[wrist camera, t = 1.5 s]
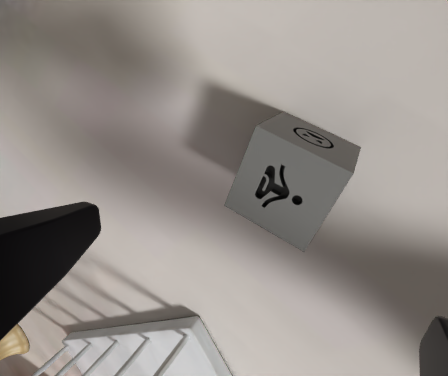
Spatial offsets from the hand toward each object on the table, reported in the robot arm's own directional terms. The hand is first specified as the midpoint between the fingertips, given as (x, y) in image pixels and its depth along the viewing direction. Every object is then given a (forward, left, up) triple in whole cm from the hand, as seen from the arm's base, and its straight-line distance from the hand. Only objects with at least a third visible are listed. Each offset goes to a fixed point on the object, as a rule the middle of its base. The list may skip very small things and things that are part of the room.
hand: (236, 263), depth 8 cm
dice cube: (-1, +1, -13) cm, 13 cm away
